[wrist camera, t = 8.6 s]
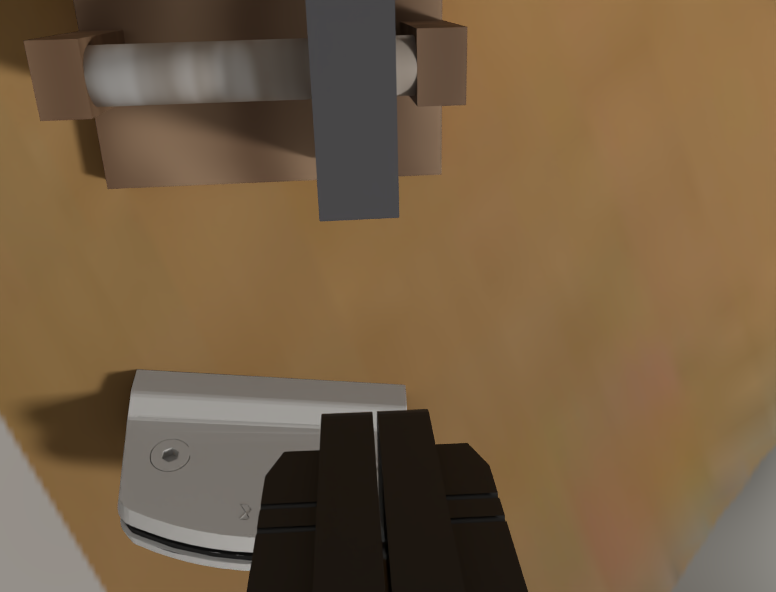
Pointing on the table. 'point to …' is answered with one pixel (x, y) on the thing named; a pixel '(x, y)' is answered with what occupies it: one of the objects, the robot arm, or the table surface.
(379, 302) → the table surface
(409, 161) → the pipe stand
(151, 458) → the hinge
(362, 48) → the collar
